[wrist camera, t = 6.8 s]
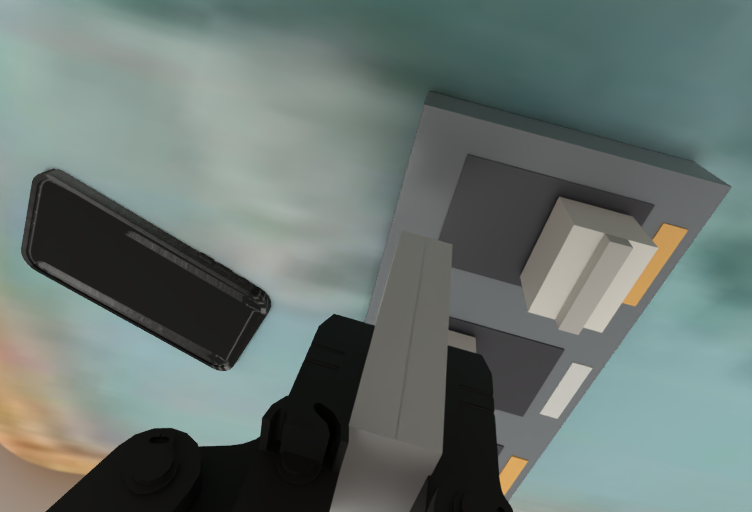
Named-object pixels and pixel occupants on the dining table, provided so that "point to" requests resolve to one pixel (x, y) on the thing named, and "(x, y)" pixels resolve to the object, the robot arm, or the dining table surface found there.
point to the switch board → (517, 240)
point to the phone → (139, 271)
